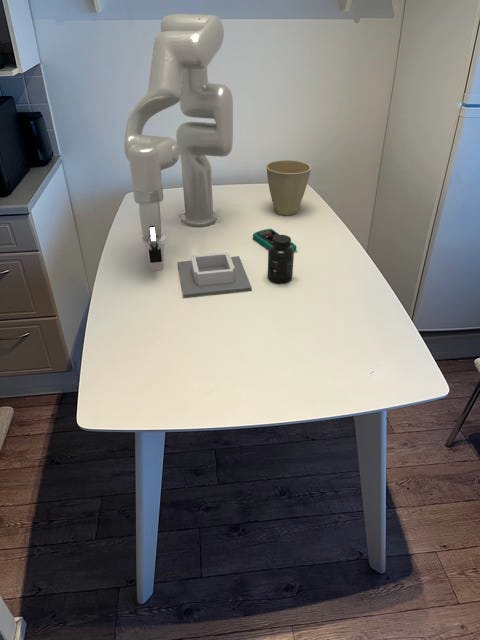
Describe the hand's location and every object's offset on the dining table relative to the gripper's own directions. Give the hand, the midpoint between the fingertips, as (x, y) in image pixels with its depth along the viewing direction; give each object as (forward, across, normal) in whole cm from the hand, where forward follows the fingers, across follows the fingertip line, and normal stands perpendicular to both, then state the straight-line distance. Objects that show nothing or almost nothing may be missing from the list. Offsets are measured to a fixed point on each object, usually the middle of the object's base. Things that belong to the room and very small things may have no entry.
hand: (155, 254), depth 137 cm
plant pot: (+5, -33, +47) cm, 58 cm away
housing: (+5, +8, +15) cm, 18 cm away
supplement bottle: (+5, +12, +33) cm, 35 cm away
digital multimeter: (+5, -8, +36) cm, 38 cm away
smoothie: (+5, 0, 0) cm, 5 cm away
